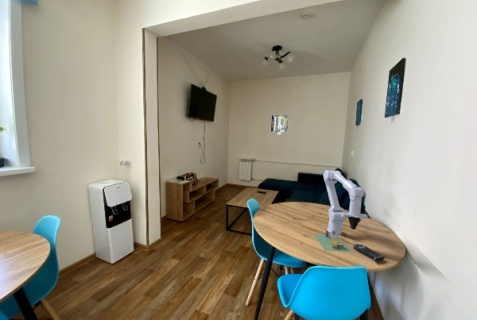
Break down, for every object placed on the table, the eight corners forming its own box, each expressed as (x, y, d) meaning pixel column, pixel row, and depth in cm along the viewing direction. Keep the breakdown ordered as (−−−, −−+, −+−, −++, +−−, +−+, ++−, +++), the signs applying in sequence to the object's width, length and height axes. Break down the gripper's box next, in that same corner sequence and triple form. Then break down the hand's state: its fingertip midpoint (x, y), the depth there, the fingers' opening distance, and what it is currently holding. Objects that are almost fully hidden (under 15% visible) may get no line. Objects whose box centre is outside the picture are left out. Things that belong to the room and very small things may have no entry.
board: (312, 235, 132) (313, 228, 132) (337, 237, 132) (338, 229, 131) (324, 252, 113) (325, 244, 112) (353, 254, 112) (354, 246, 111)
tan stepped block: (329, 244, 119) (330, 238, 118) (340, 245, 118) (340, 239, 118) (331, 247, 116) (332, 241, 115) (342, 248, 115) (343, 241, 115)
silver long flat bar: (327, 233, 130) (328, 231, 130) (331, 233, 130) (331, 232, 130) (338, 244, 115) (338, 243, 115) (342, 245, 115) (342, 243, 115)
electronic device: (384, 262, 109) (359, 245, 122) (386, 254, 107) (360, 237, 120) (373, 268, 105) (348, 249, 119) (375, 259, 104) (349, 241, 117)
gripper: (346, 208, 116) (344, 231, 117) (371, 210, 116) (369, 232, 117) (340, 204, 123) (338, 226, 124) (364, 206, 123) (362, 227, 124)
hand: (352, 228), depth 121 cm, fingers closed
